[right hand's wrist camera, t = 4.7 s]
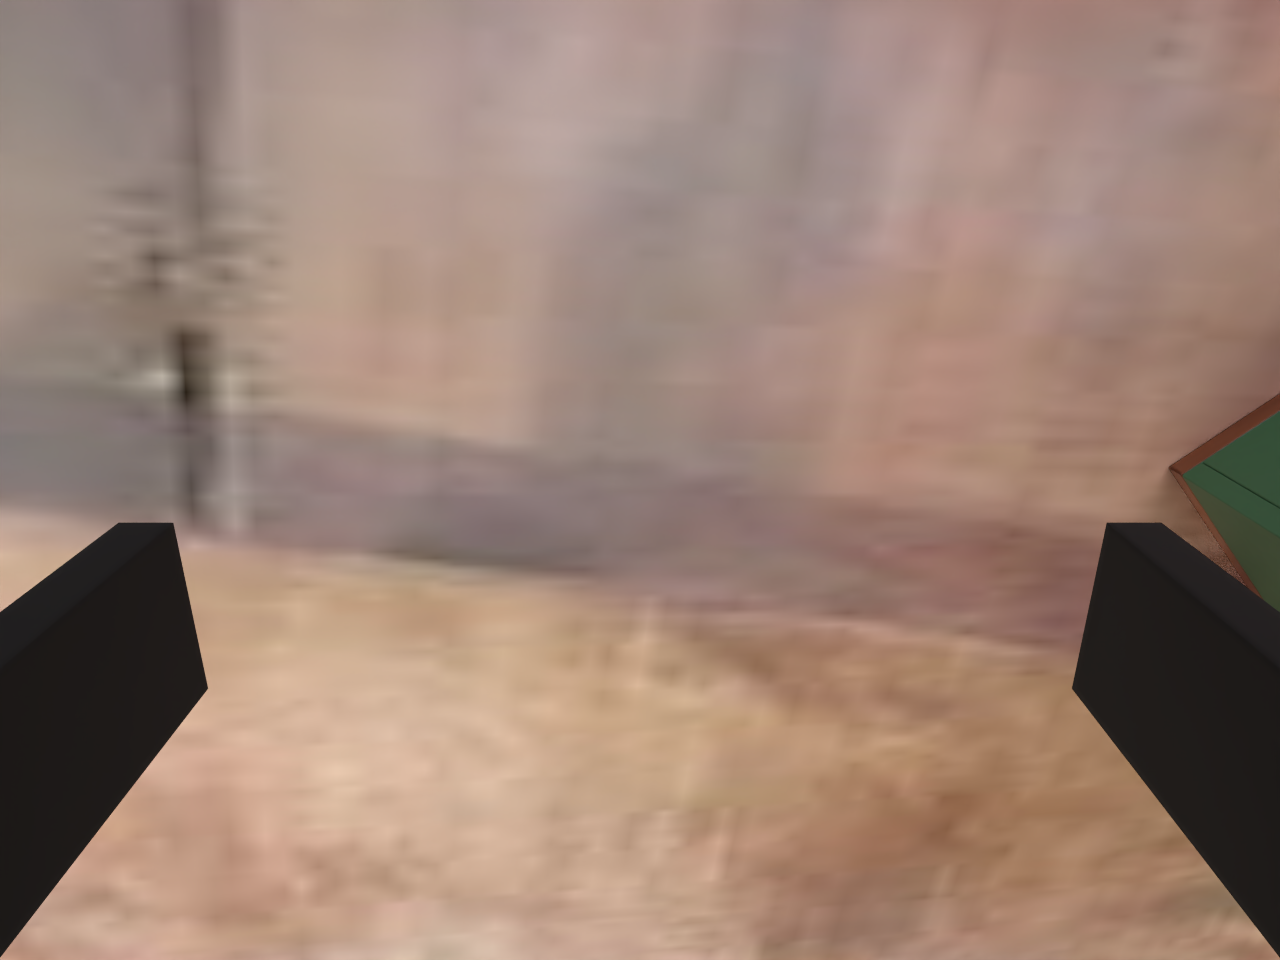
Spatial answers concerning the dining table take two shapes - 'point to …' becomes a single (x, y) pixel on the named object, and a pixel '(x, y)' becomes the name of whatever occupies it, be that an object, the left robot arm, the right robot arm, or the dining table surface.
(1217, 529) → the chest
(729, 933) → the dining table surface
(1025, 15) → the dining table surface
